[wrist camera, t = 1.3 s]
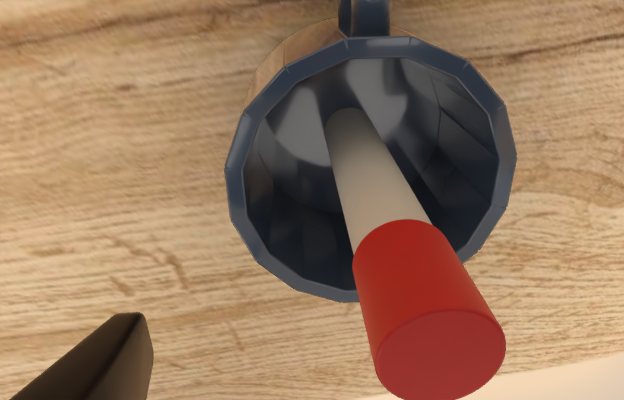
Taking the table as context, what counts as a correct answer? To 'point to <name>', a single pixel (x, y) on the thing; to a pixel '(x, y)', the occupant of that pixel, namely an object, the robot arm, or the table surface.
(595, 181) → the table surface
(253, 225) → the mug
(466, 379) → the marker
